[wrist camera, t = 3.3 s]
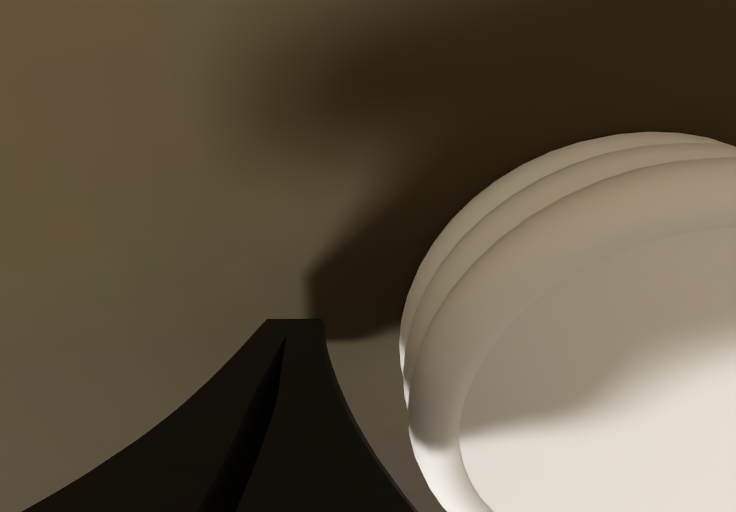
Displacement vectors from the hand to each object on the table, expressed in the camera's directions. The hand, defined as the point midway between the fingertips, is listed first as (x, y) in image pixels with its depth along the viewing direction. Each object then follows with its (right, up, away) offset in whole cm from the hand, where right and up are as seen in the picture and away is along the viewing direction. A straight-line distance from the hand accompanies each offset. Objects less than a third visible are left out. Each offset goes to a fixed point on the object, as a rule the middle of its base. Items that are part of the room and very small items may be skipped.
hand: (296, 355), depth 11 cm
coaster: (+7, +1, +1) cm, 8 cm away
